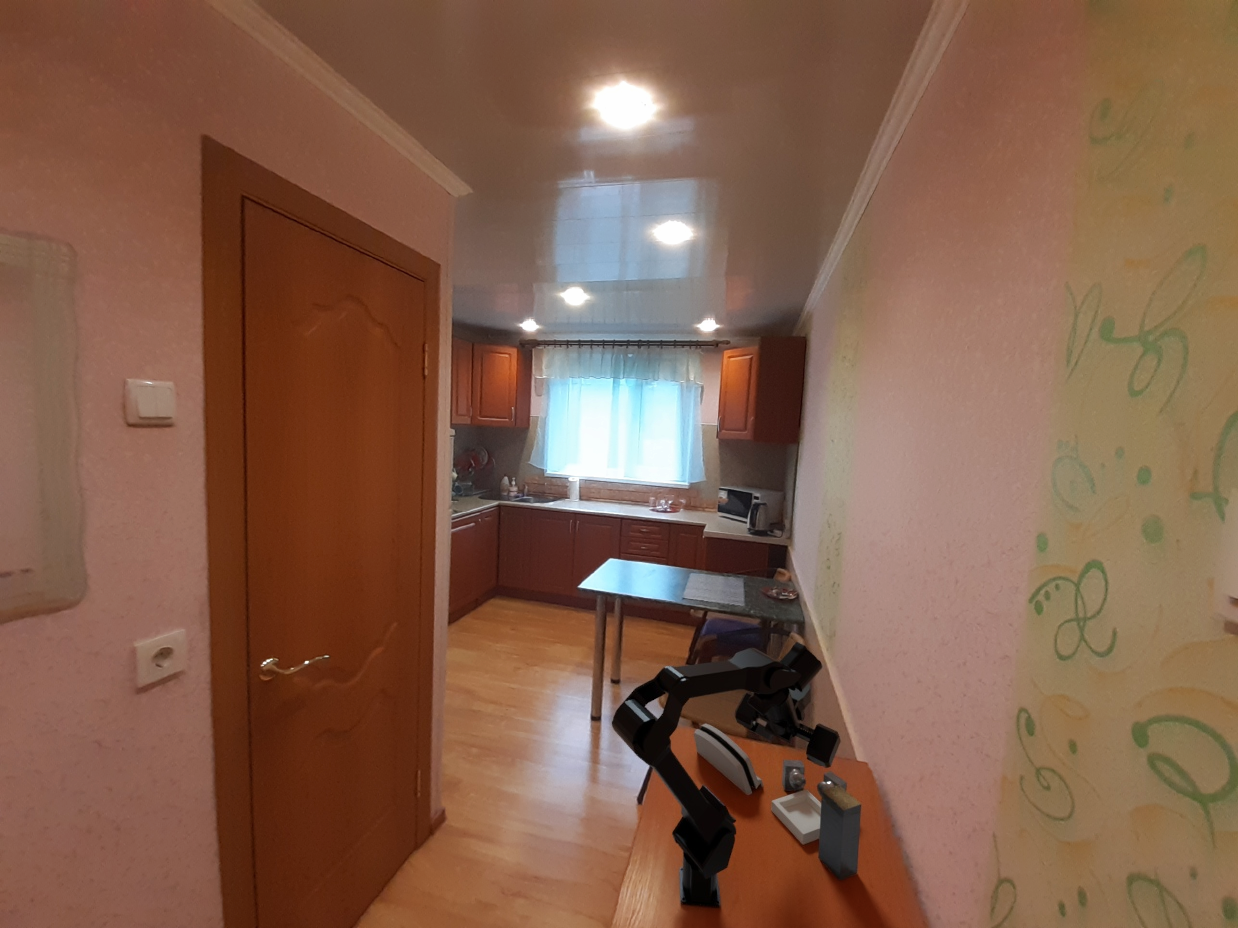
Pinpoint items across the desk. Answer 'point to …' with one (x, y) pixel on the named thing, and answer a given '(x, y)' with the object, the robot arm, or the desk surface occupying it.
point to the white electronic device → (726, 757)
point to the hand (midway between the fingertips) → (792, 749)
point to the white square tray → (799, 815)
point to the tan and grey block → (839, 832)
